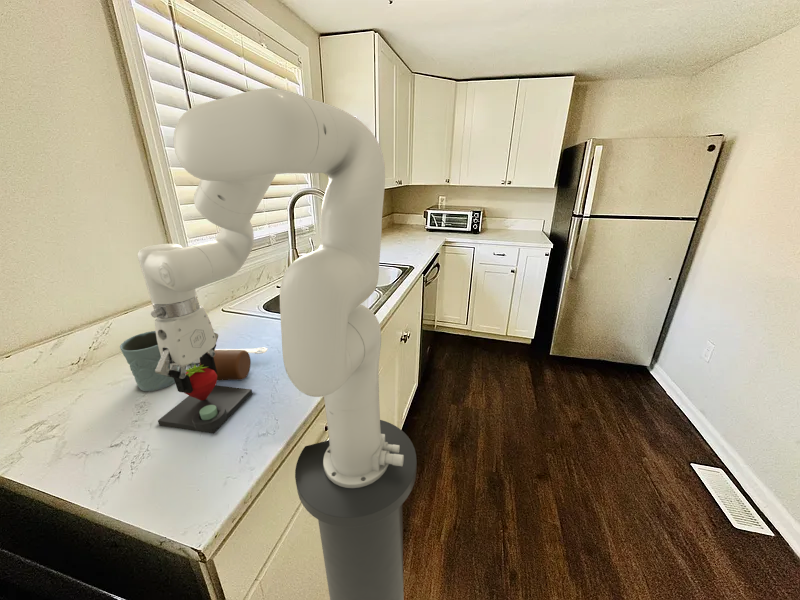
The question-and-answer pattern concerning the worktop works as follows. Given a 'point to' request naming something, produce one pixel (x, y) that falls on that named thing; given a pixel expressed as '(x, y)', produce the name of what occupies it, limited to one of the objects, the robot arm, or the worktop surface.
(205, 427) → the scale
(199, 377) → the strawberry
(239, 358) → the mug
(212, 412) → the button
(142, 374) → the green plant pot
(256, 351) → the spatula
